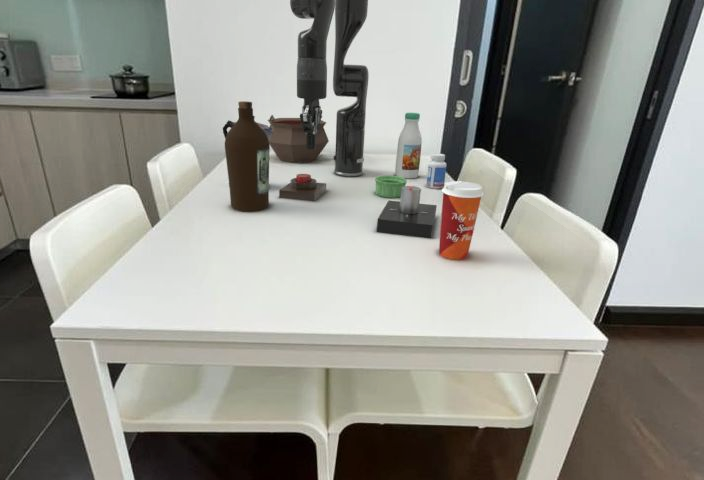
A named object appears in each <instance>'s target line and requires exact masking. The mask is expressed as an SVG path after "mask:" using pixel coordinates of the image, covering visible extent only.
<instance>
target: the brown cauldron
mask: <svg viewBox="0 0 704 480" xmlns="http://www.w3.org/2000/svg"><path fill="white" fill-rule="evenodd" d="M322 118H323V115H322V116H321V121H320V126H319V130H317V134H316V148H315V149H307V147H306V144H307V134H306V133H304V132H303V127H302V123H301V119H300V117H277V118H275V117H274V115H273V114H271V115H270V117H269V119H267V122H268V123H269V124H270V125H269V127H270V128H272V129H273V130H274V132H272V133H271V136H270V138H269V146H270V148H271V149H272V151H273V152H274V154H275V155H276V157H277V158H278V159H279V161H281V162H286V163H294V164H295V163H296V164H297V163H298V164H299V163H310V162H313V161H316V160H317V159H318V158H319V156H320V154H321V153H322V152H323V151H324V149H325V147H326V146H327V145H328V143H330V140H329V138H328V135H327V133H326V130H325V126H326V124H327V122H326V121H324V120H322Z"/></svg>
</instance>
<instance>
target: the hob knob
mask: <svg viewBox="0 0 704 480" xmlns="http://www.w3.org/2000/svg"><path fill="white" fill-rule="evenodd" d="M421 192H422V188H421V187H418V186H414V185H405V186H403V187H402V188H401V197H400V209H399V211H400V212H401V213H404V214H417V213H418V211H419V203H420V202H421Z"/></svg>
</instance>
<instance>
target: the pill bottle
mask: <svg viewBox="0 0 704 480" xmlns="http://www.w3.org/2000/svg"><path fill="white" fill-rule="evenodd" d="M430 159H431V161H429V162H428V165H427V173H426V184H425V185H426V187H427V188H429V189H435V190H436V189H437V190H438V189H439V190H440V189H443V188H444V186H445V184H446V173H447V162H445V160H446V154H444V153H431V158H430Z"/></svg>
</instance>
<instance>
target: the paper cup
mask: <svg viewBox="0 0 704 480" xmlns="http://www.w3.org/2000/svg"><path fill="white" fill-rule="evenodd" d="M441 192H442V205H441V219H440V230H439V231H440V233H439V244H438V245H439V247H438V253H439V255H440V256H441V257H443V258H445V259H449V260H456V261H457V260H458V261H461V260H465V259H466V258H467V257H468V254H469V251H470V248H471V244H472V239H473V235H474V231H475V226H476V222H477V217H478V212H479V208H480V204H481V200H482V197H483V196H484V195H485V194H484V191H483V187H482V185H480V184H478V183H474V182H470V181H462V180H461V181H460V180H458V181H457V180H454V181H453V180H452V181H447V182H445V183H444V187H443V188H441Z"/></svg>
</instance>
